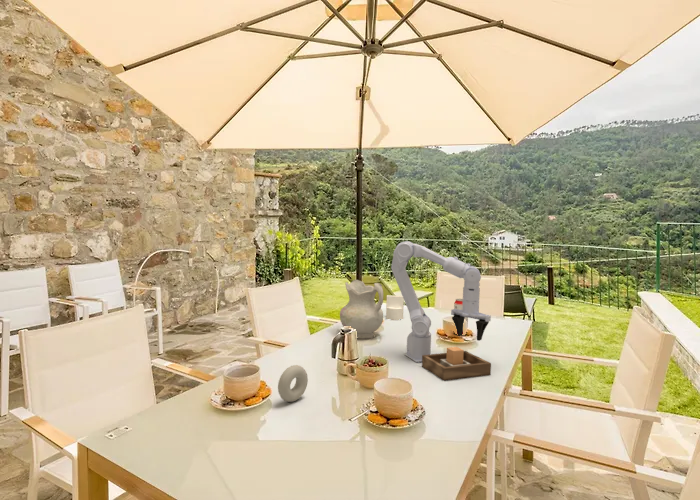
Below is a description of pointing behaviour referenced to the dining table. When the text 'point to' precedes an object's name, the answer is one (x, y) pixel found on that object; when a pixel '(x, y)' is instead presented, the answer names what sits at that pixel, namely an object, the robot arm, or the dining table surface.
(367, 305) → the ceramic pitcher
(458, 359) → the plug
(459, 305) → the beer can
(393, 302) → the base with upright slab
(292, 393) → the donut
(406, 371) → the dining table surface
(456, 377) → the box
